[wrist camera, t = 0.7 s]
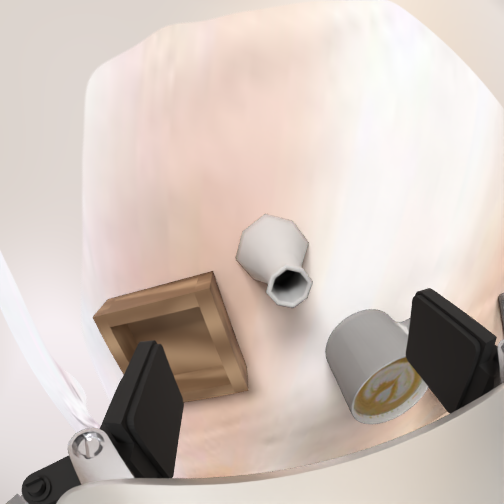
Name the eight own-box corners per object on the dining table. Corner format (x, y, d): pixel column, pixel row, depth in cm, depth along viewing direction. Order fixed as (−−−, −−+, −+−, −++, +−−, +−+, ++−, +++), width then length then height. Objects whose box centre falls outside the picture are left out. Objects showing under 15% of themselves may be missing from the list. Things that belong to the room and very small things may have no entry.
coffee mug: (337, 383, 36) (361, 435, 26) (314, 333, 33) (340, 387, 23) (419, 338, 35) (456, 378, 25) (408, 282, 32) (456, 318, 22)
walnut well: (246, 366, 34) (248, 390, 29) (152, 383, 34) (144, 406, 30) (212, 271, 30) (209, 287, 26) (108, 299, 30) (92, 317, 26)
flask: (319, 239, 30) (356, 271, 20) (280, 294, 31) (299, 345, 22) (262, 200, 28) (277, 216, 19) (223, 260, 30) (218, 303, 20)
